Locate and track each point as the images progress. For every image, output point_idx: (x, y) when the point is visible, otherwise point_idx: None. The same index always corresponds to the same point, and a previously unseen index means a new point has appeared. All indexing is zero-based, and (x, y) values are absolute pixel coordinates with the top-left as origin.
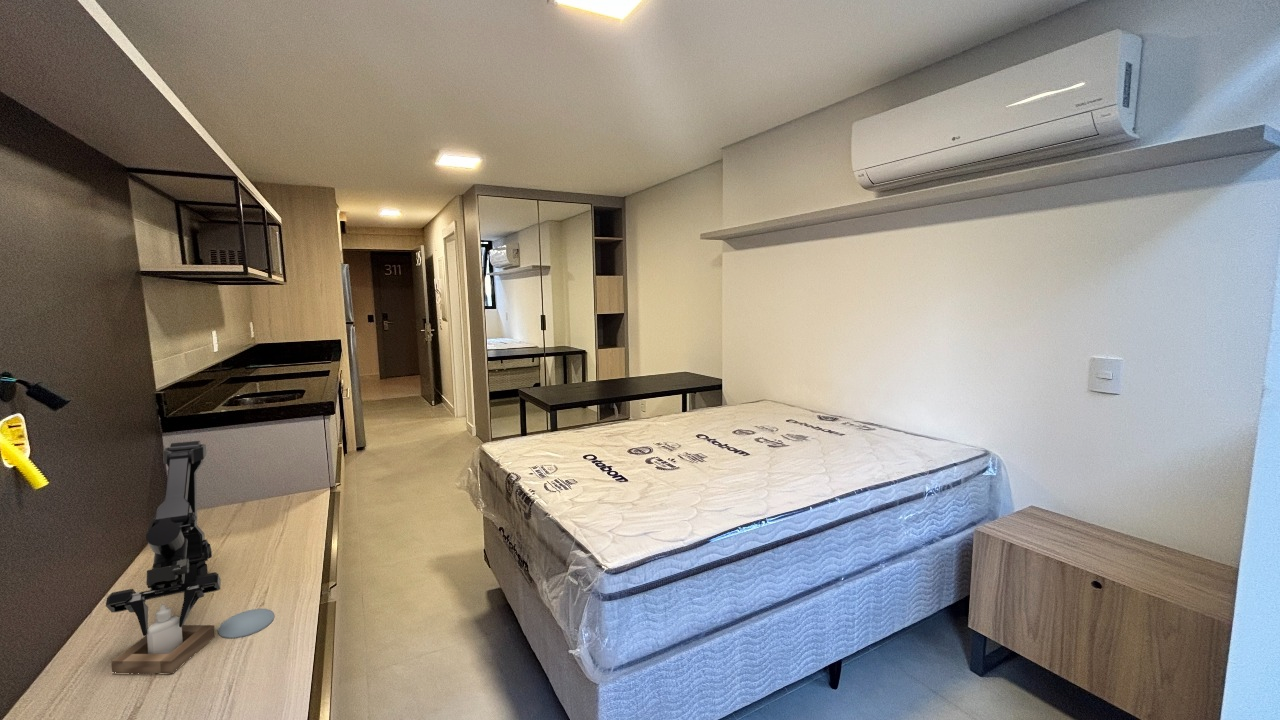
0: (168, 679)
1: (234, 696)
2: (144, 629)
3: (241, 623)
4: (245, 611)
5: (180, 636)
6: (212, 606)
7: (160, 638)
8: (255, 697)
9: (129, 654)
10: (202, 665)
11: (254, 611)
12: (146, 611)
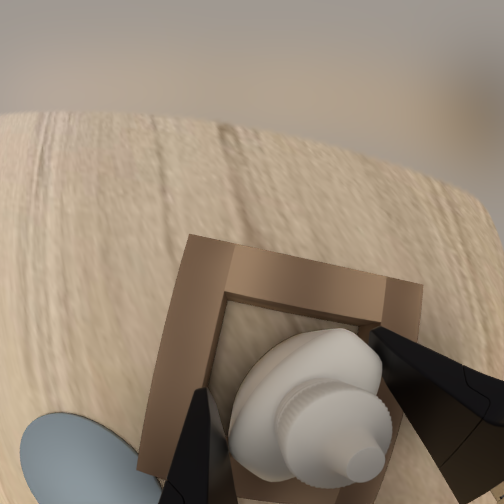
0: (197, 226)
1: (35, 141)
2: (390, 340)
3: (95, 490)
4: None
5: (233, 409)
6: None
7: (292, 346)
8: (10, 138)
9: (389, 320)
10: (119, 279)
11: None
12: (458, 459)
